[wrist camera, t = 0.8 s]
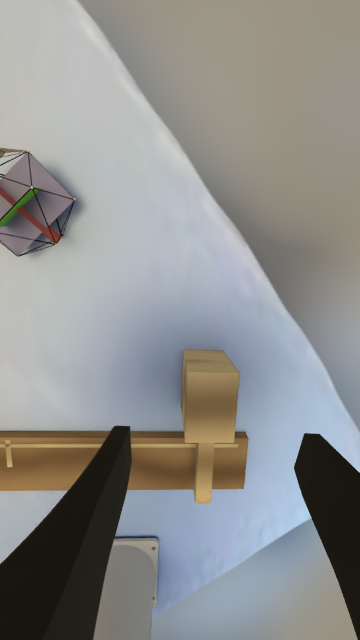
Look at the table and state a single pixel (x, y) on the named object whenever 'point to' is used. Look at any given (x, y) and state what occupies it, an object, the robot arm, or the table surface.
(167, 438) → the brown wooden flat strip
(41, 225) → the geometric puzzle
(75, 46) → the table surface
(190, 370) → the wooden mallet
